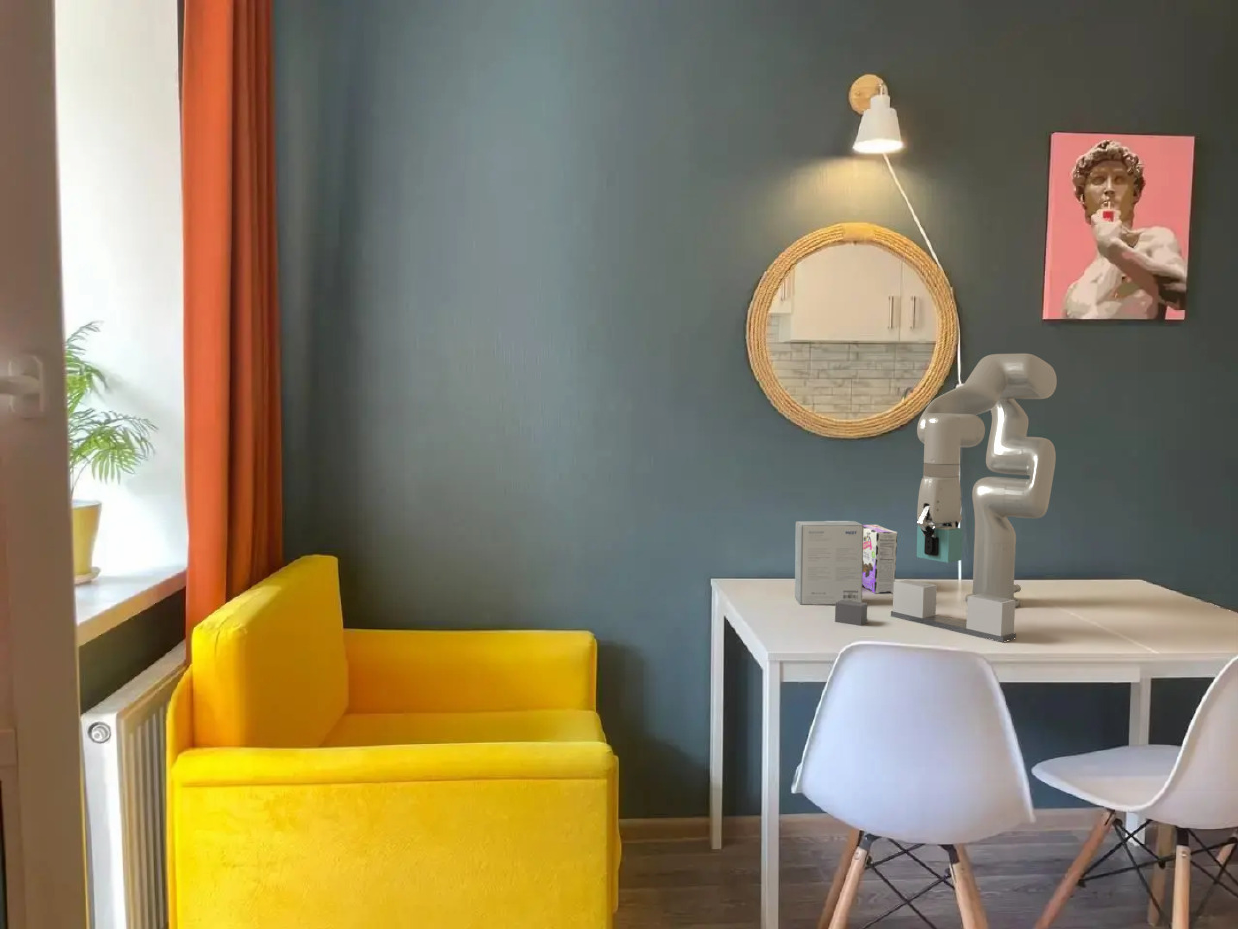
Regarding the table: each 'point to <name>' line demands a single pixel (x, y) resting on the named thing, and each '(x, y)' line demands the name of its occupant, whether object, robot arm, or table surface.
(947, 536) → the block
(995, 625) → the block
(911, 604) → the block
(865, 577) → the candy box
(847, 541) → the hard drive box
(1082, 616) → the table surface
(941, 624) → the rail
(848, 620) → the dark grey block
